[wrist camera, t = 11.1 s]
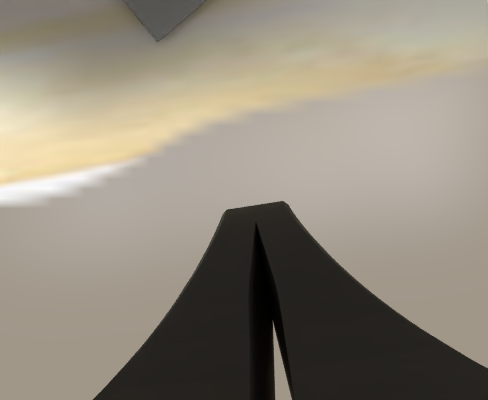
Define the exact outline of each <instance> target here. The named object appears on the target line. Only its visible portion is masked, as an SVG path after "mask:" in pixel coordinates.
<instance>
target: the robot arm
mask: <svg viewBox="0 0 488 400" xmlns="http://www.w3.org/2000/svg"><path fill="white" fill-rule="evenodd" d="M273 323H274V327H275V331H276V336H277V340H278V344H279V348H280V352H281V356H282V360H283V364H284V368H285V372H286V377H287V381H288V385H289V389H290V393H291V397H292V400H488V368H486V367H484V366H482V365H480V364H478V363H476V362H475V361H473V360H471V359H469V358H468V357H466V356H465V355H463V354H461V353H460V352H458V351H456V350H455V349H453V348H451V347H450V346H448V345H447V344H445V343H443V342H442V341H440V340H438V339H437V338H435V337H434V336H432V335H430V334H429V333H427V332H425V331H424V330H422V329H420V328H419V327H418V326H416V325H415V324H413V323H412V322H410V321H409V320H407V319H406V318H405V317H403V316H402V315H400V314H399V313H397V312H396V311H395V310H393V309H392V308H391V307H389V306H388V305H387V304H385V303H384V302H383V301H381V300H380V299H379V298H377V297H376V296H375V295H374V294H372V293H371V292H370V291H369V290H367V289H366V288H365V287H364V286H363V285H362V284H360V283H359V282H358V281H357V280H356V279H354V277H352V276H351V275H350V274H349V273H348V272H347V271H346V270H344V268H342V267H341V266H340V265H339V264H338V263H337V262H336V261H335V260H334V259H333V258H332V257H331V256H330V255H329V254H328V253H327V252H326V251H325V250H324V249H323V248H322V247H321V246H320V245H319V243H318V242H317V241H316V240H315V239H314V238H313V237H312V236H311V235H310V233H309V232H308V231H307V230H306V229H305V227H304V226H303V225H302V224H301V223H300V221H299V220H298V219H297V217H296V216H295V214H294V213H293V212H292V210H291V208H290V207H289V205H288V204H286V203H285V202H284V201H280V202H274V203H267V204H261V205H255V206H248V207H242V208H235V209H228V210H226V211H225V212H224V214H223V215H222V217H221V220H220V223H219V225H218V227H217V229H216V232H215V234H214V236H213V238H212V240H211V242H210V244H209V246H208V248H207V250H206V252H205V253H204V255H203V257H202V259H201V261H200V263H199V264H198V266H197V268H196V270H195V272H194V273H193V275H192V277H191V278H190V280H189V281H188V283H187V284H186V286H185V287H184V289H183V291H182V292H181V294H180V295H179V297H178V299H177V300H176V302H175V303H174V304H173V306H172V307H171V309H170V310H169V312H168V313H167V314H166V316H165V317H164V319H163V320H162V321H161V322H160V324H159V325H158V326H157V328H156V329H155V330H154V332H153V333H152V334H151V335H150V337H149V338H148V339H147V341H146V342H145V343H144V344H143V345H142V347H141V348H140V349H139V350H138V351H137V352H136V353H135V355H134V356H133V357H132V358H131V359H130V360H129V362H128V363H127V364H126V365H125V366H124V367H123V368H122V369H121V370H120V372H119V373H118V374H117V375H116V376H115V377H114V378H113V379H112V380H111V381H110V382H109V384H108V385H107V386H106V387H105V388H104V389H103V390H102V391H101V392H100V393H99V394H98V395H97V396H96V397H95V398H94V399H93V400H275V380H274V379H275V378H274V345H273Z"/></svg>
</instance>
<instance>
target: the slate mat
mask: <svg viewBox="0 0 488 400" xmlns="http://www.w3.org/2000/svg"><path fill="white" fill-rule="evenodd" d="M205 1H206V0H124V2H125V3H126V4H127V5H128V7H129V8H130V9H131V10H132V11H133V13H134V14H135V15H136V16H137V18H138V19H139V20H140V21H141V22H142V24H143V25H144V26H145V27H146V29H147V30H148V31H149V32H150V33H151V35H152V36H153V37H154V38H155V40H156V41H157V42H158V41H159V40H160V39H162V38H163V37H164V36H165V35H166V34H168V33H169V32H170V31H171V30H172V29H173V28H175V27H176V26H177V25H178V24H179V23H180V22H182V21H183V20H184V19H185V18H186V17H188V16H189V15H190V14H191V13H192V12H193V11H195V10H196V9H197V8H198V7H199V6H201V5H202V4H203V3H204V2H205Z"/></svg>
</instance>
